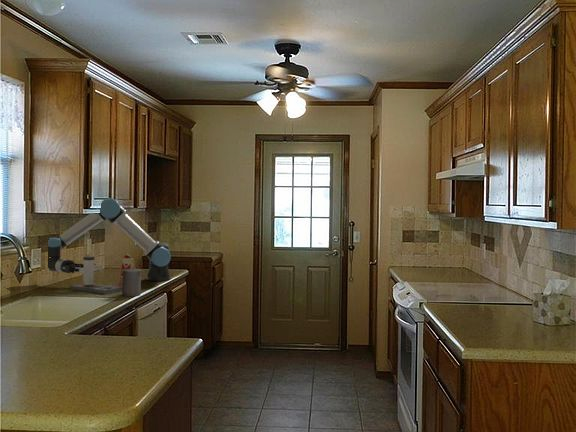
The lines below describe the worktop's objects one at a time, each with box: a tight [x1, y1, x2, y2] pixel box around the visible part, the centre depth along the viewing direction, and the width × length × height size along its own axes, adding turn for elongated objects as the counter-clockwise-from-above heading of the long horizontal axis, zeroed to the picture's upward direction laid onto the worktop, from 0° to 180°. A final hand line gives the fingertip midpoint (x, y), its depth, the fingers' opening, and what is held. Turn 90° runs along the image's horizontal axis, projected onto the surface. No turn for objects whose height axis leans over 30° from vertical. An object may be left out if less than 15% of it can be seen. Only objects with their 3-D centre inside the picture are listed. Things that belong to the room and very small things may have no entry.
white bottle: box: [82, 256, 96, 285], centre depth 320 cm, size 4×4×16 cm
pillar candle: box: [121, 268, 142, 297], centre depth 307 cm, size 10×10×15 cm
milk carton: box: [117, 252, 136, 287], centre depth 334 cm, size 9×9×20 cm
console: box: [69, 282, 122, 295], centre depth 318 cm, size 26×14×2 cm, turn 64°
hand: (93, 269), depth 319 cm, fingers open, 13 cm apart
